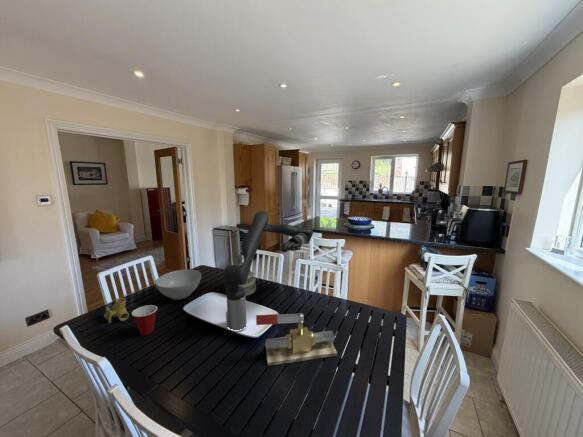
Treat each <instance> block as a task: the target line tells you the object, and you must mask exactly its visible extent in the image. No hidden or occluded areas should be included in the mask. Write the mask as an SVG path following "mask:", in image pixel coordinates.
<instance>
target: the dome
mask: <svg viewBox="0 0 583 437" xmlns="http://www.w3.org/2000/svg"><path fill="white" fill-rule="evenodd" d="M243 262H244V261H243V256H241V255H240V254H239V256H238V257H237V263H236V265H238V266H241V265H242V264H243ZM256 282H257V279H256V277H255V276H254V272H253V271H252V270H250V271H249V275H248V278H247V280H246V282H245V283H244V284H243V285H239V286H240V287H242V288H244V289H245V297H248V296H251V295H252V294H254V293H255V292H256V291H257V285H256Z"/></svg>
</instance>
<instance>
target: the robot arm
mask: <svg viewBox="0 0 583 437" xmlns="http://www.w3.org/2000/svg"><path fill="white" fill-rule="evenodd" d="M269 219H270V218H269V215H268V213H267V212H265V211H262V210H260V211H258V212H256V213H255V214H254V215H253V219H252V222H251V226H250V228H249V229H248V231H247V232H246V234H245V236H244V238H243V240H242V242H241V244H240V251H241V254H242V259H243V261H242V262H243V264H242V265H241V266H238V265H237V264H235V265H234V264H228V265H227V266H226V267H225V268H224V271H223V282H224V291H225V292H224V293H225V295H226V308H227V310H226V312H225V317H226V320H225V322H226V328H227V327H229V328H230V329H233V330H240V329H243V328H244V327H246V328H247V326H246V324H247V303H246V300H247V299H246V296H245V289H244V288H242V287H240V286H239V285H243V284H244V283H245V282H246V280H247V278H248V275H249V271H251V269H252V268H251V267H252V264H253V261H254V258H255V256H256V253H257V251H258V249H259V246H260V243H261V240H262V236H263V232H266V233H273V234H274V233H275V234H279V235H284V236H288V237H290V238H289V239H288V241H287V242H285V243H284V242H280V248H281V252H282V253H286V252H289V251H291V252H295V251H300V250H301V248H302V246H303V245H308V244H309V243H310V241H311V239H312V237H313V235H314V230H313V229H312V228H310V227H305V226H304V227H302V226H301V227H300V226H294V225H291V224H286V223H282V224H270V223H268V222H269V221H270V220H269Z"/></svg>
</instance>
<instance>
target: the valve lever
mask: <svg viewBox="0 0 583 437" xmlns="http://www.w3.org/2000/svg"><path fill="white" fill-rule="evenodd" d="M304 316H305V315H304V313H302V312H299V313H286V314H284V313H281V314H279V313H278V314H277V313H275V314H270V313H269V314H256V316H255V323H256V326H264V325H265V326H266V325H267V326H268V325H278V324H280V325H281V324H298V323H304V321H305V320H304V318H305V317H304Z"/></svg>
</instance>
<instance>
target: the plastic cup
mask: <svg viewBox="0 0 583 437" xmlns="http://www.w3.org/2000/svg"><path fill="white" fill-rule="evenodd" d="M157 310H158V306H156V305H152V304H149V305H144V306H140V307H139V306H138V308H135V309H134V310H132V312H131V315H132V317H133V320H135V323H136V326H137V328H138V329H137V330H138V331H139V333H140V335H141V336H148V335H150V334H151V333H153V332H154V331H155V330H154V329H155V323H156V322H155V321H156V313H157Z"/></svg>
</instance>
